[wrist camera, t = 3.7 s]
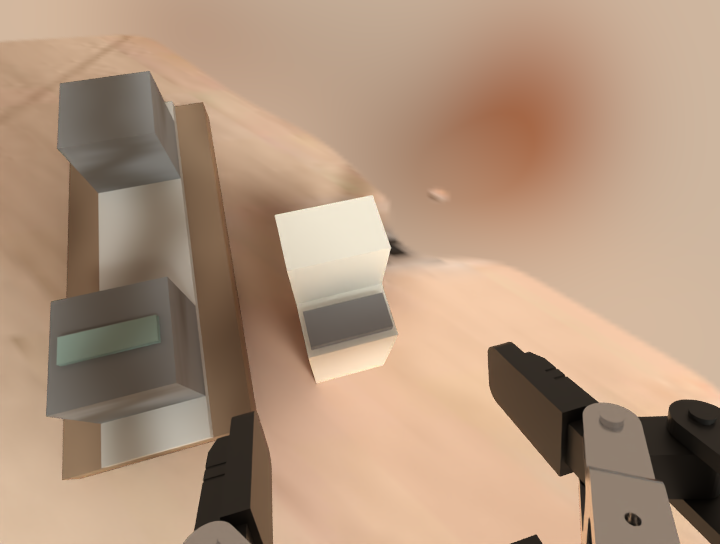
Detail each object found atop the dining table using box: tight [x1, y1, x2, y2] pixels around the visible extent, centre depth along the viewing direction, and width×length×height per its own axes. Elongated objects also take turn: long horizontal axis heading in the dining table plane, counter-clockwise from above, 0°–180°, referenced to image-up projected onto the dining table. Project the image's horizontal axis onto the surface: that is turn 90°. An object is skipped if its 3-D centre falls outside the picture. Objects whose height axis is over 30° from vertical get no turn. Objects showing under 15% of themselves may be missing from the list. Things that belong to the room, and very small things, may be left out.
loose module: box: [275, 195, 398, 383], centre depth 19 cm, size 4×5×10 cm
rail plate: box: [46, 71, 256, 480], centre depth 22 cm, size 9×23×6 cm, turn 15°
